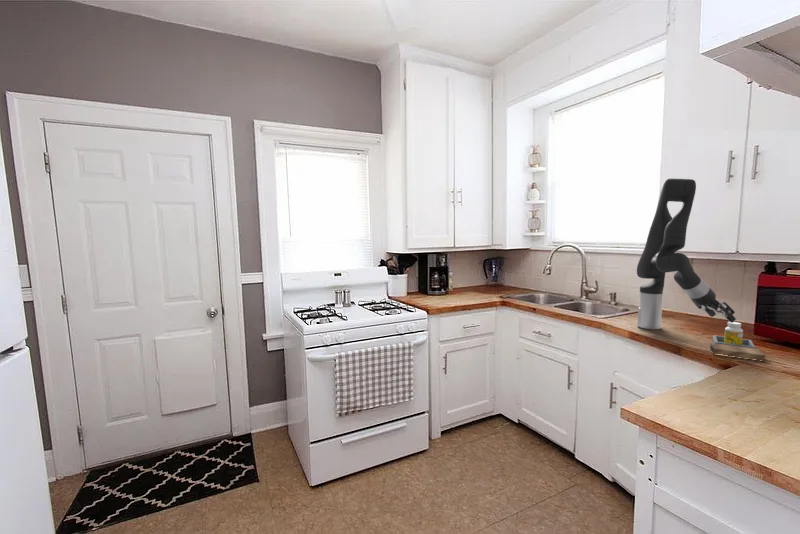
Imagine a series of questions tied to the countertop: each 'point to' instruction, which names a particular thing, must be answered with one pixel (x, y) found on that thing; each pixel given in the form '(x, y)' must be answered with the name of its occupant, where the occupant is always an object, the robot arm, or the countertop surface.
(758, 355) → the brown flat block
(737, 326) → the supplement bottle
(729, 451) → the countertop surface
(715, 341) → the tray
